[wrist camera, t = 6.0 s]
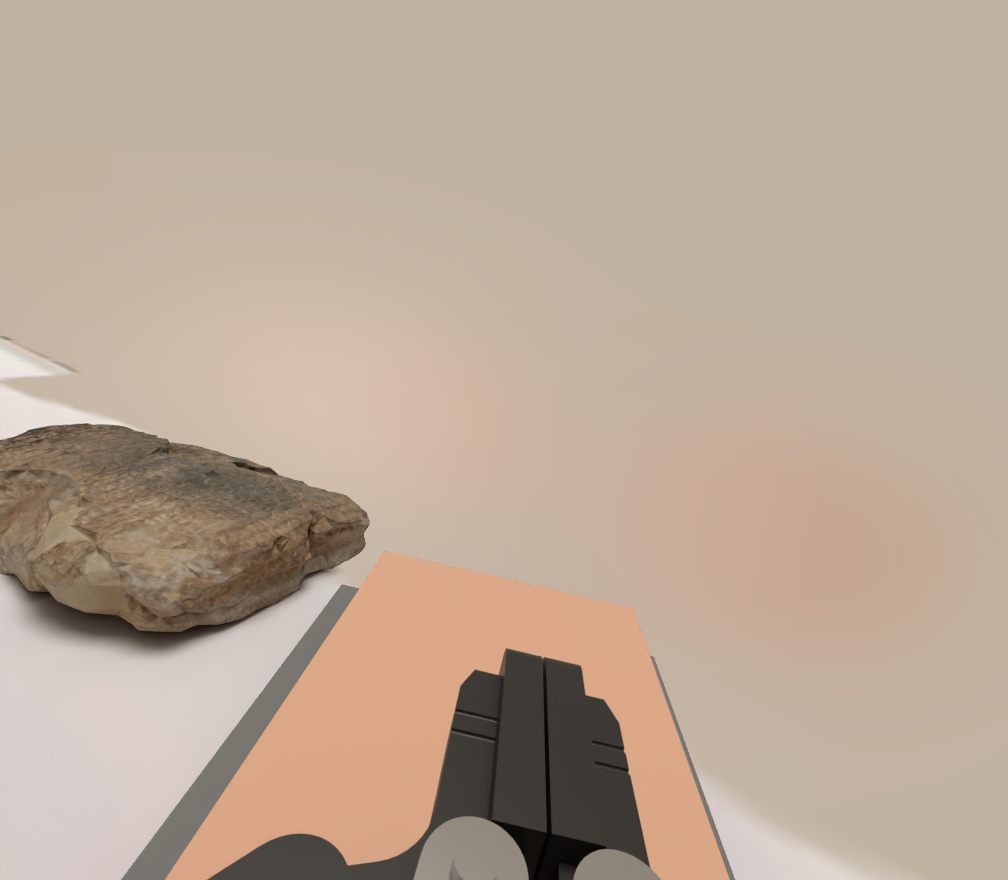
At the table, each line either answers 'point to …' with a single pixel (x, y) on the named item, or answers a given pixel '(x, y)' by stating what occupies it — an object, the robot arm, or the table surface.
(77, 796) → the table surface
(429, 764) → the terracotta tile
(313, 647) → the rubber mat
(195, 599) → the clay tablet
